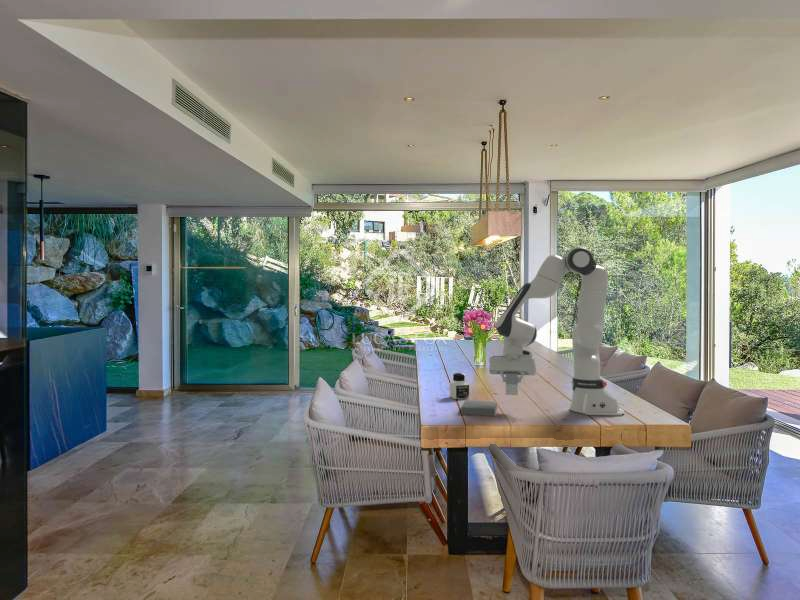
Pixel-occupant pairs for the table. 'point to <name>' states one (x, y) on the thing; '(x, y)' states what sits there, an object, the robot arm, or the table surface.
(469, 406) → the charcoal stand
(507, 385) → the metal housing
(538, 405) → the table surface
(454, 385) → the medicine bottle
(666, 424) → the table surface
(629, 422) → the table surface
